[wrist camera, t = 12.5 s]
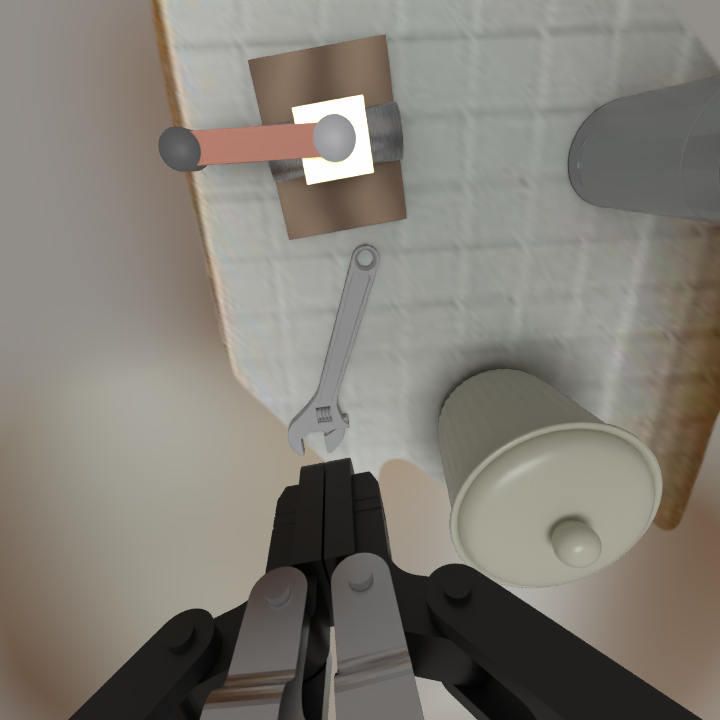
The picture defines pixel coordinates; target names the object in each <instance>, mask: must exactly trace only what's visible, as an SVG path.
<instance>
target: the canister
mask: <svg viewBox="0 0 720 720" xmlns="http://www.w3.org/2000/svg"><path fill="white" fill-rule="evenodd" d="M438 440H439V447H440V453H441V459H442V464H443V469H444V474H445V479H446V484H447V488H448V493H449V498H450V503H451V513H450V534H451V539H452V542H453V545H454V547H455V550H456V552H457V553H458V555H459V557H460V558H461V559H462V561H463V562H464V563H465V564H466V565H467V566H470V567H472V568H474V569H476V570H478V571H479V572H481V573H482V574H484V575H485V576H487V577H488V578H490V579H491V580H493V581H494V582H496V583H498V584H502V585H506V586H511V587H519V588H543V587H550V586H557V585H562V584H567V583H571V582H575V581H578V580H581V579H584V578H586V577H589V576H591V575H593V574H595V573H597V572H599V571H601V570H603V569H605V568H606V567H608V566H610V565H611V564H612V563H614V562H615V561H617V560H618V559H619V558H621V557H622V556H623V555H624V554H625V553H626V552H627V551H628V550H629V549H630V548H632V547H633V546H634V545H635V544H636V542H637V541H638V540H639V539H640V538H641V537H642V536H643V534H644V533H645V532H646V530H647V529H648V527H649V526H650V524H651V523H652V521H653V519H654V517H655V515H656V513H657V510H658V507H659V504H660V500H661V496H662V474H661V470H660V466H659V464H658V461H657V459H656V457H655V456H654V454H653V452H652V451H651V450H650V449H649V447H648V446H647V445H646V444H645V443H644V442H643V441H641V440H640V439H639V438H638V437H636V436H635V435H633V434H632V433H630V432H628V431H626V430H624V429H622V428H619V427H617V426H614V425H610V424H606V423H604V422H603V421H601V420H600V419H598V418H597V417H596V416H594V415H593V414H591V413H590V412H588V411H587V410H585V409H584V408H583V407H581V406H580V405H578V404H577V403H576V402H574V401H573V400H571V399H570V398H569V397H567V396H566V395H564V394H563V393H561V392H560V391H558V390H557V389H555V388H554V387H552V386H550V385H549V384H547V383H546V382H544V381H543V380H541V379H539V378H537V377H535V376H533V375H531V374H529V373H525V372H522V371H520V370H511V369H496V370H488V371H486V372H483V373H479V374H478V375H475V376H471V378H469V379H468V380H466V381H463V383H462V384H461V385H460V386H458V387H456V389H455V390H454V391H453V392H452V393H451V394H450V396H449V398H448V399H447V400H446V401H445V405H444V406H443V408H442V409H441V415H440V417H439V424H438Z"/></svg>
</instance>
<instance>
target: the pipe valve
mask: <svg viewBox="0 0 720 720" xmlns="http://www.w3.org/2000/svg"><path fill="white" fill-rule="evenodd" d="M292 111H293V115H294V120H291V121H285V122H280V123H274V124H269V125H264V126H271V125H285V124H300V123H314V122H318V121H319V120H320V119H321V118H322V117H324V116H326V115H328V114H340V115H343V116H344V117H346V118H347V119H348V120H349V121H350V122H351V123H352V125H353V126H354V129H355V132H356V145H355V148H354V151H353V152H352V154H351V155H350V156H349V157H348V158H347V159H345V160H343V161H341V162H329V161H327V160H325V159H323V158H322V157H314V158H300V159H286V160H272V161H269V165H270V169H271V172H272V175H273V178H274V180H275V182H282V181H287V180H293V179H298V178H303V177H306V180H307V185H308V184H314V183H319V182H325V181H330V180H335V179H341V178H346V177H352V176H357V175H363V174H368V173H374V169H373V165H374V164H380V163H385V162H390V161H396V160H401V159H402V157H403V134H402V125H401V118H400V113H399V109H398V105H397V103H396V101H393V102H388V103H382V104H377V105H371V106H366V107H365V105H364V98H363V95H358V96H353V97H347V98H342V99H337V100H331V101H326V102H320V103H315V104H310V105H304V106H299V107H294V108H292Z"/></svg>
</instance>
